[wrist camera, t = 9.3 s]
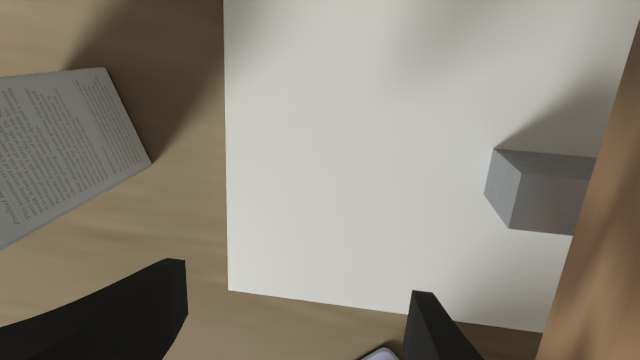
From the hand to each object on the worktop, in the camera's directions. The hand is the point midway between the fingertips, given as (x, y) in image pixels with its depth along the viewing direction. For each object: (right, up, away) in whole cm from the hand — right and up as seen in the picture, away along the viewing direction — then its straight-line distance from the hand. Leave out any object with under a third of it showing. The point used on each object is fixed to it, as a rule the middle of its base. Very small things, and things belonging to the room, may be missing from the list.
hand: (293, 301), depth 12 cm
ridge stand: (+8, +5, +8) cm, 12 cm away
